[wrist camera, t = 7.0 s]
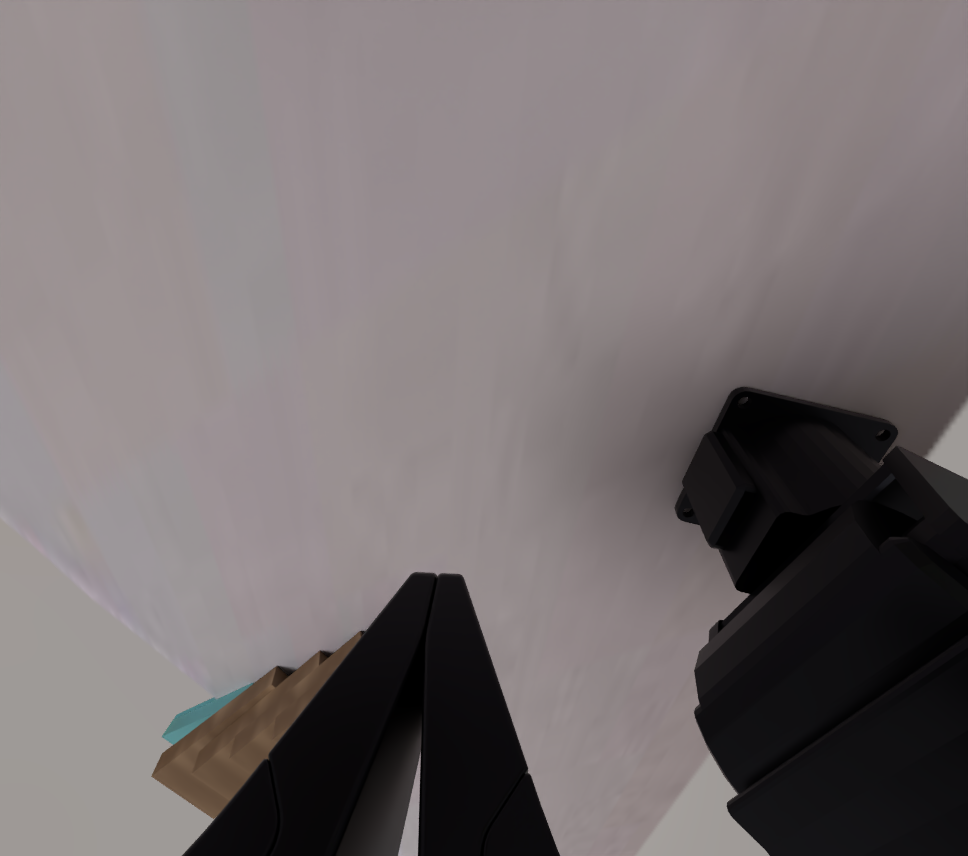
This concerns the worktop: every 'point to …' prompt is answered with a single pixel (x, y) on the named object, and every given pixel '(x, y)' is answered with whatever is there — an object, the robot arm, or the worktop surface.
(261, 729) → the domino
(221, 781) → the domino
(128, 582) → the worktop surface
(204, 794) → the domino
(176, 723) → the domino
